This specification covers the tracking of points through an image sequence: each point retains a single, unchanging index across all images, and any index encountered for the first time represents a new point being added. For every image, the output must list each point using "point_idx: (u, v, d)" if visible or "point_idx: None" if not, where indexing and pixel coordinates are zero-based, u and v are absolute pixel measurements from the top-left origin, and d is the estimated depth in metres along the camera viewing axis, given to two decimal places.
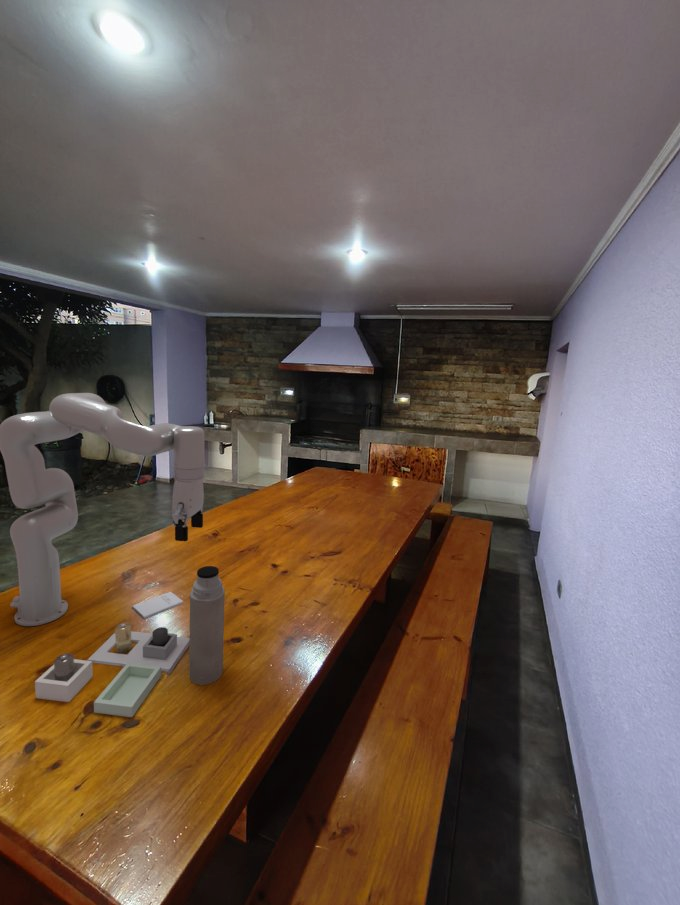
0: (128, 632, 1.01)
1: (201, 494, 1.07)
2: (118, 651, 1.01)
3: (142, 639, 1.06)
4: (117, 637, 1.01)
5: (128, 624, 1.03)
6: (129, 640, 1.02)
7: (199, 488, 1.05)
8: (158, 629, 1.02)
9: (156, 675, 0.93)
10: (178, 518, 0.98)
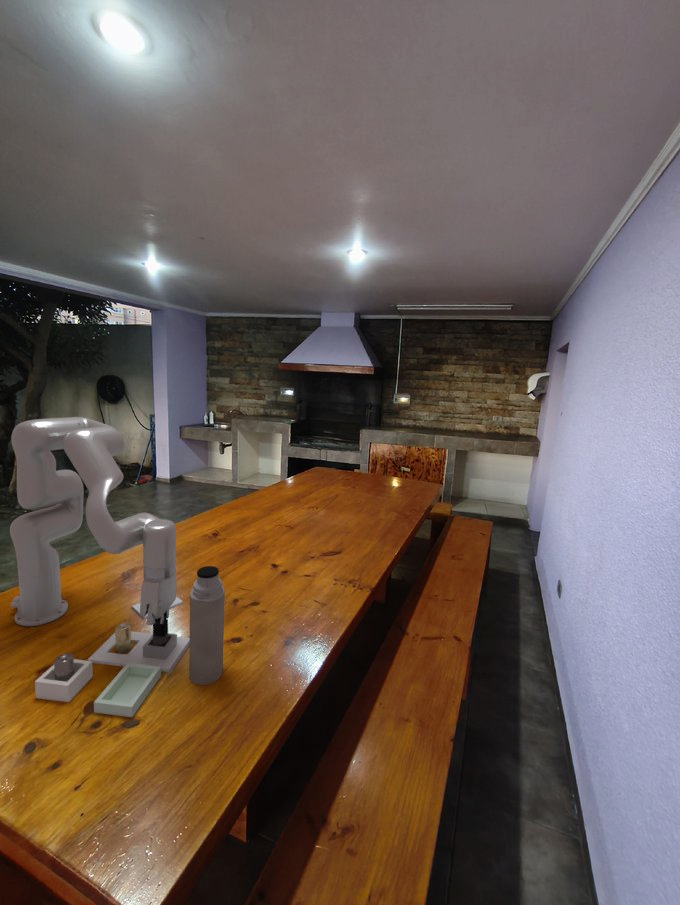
0: (128, 632, 1.01)
1: (172, 589, 1.01)
2: (118, 651, 1.01)
3: (142, 639, 1.06)
4: (117, 637, 1.01)
5: (128, 624, 1.03)
6: (129, 640, 1.02)
7: (170, 584, 0.99)
8: None
9: (156, 675, 0.93)
10: (154, 621, 0.97)
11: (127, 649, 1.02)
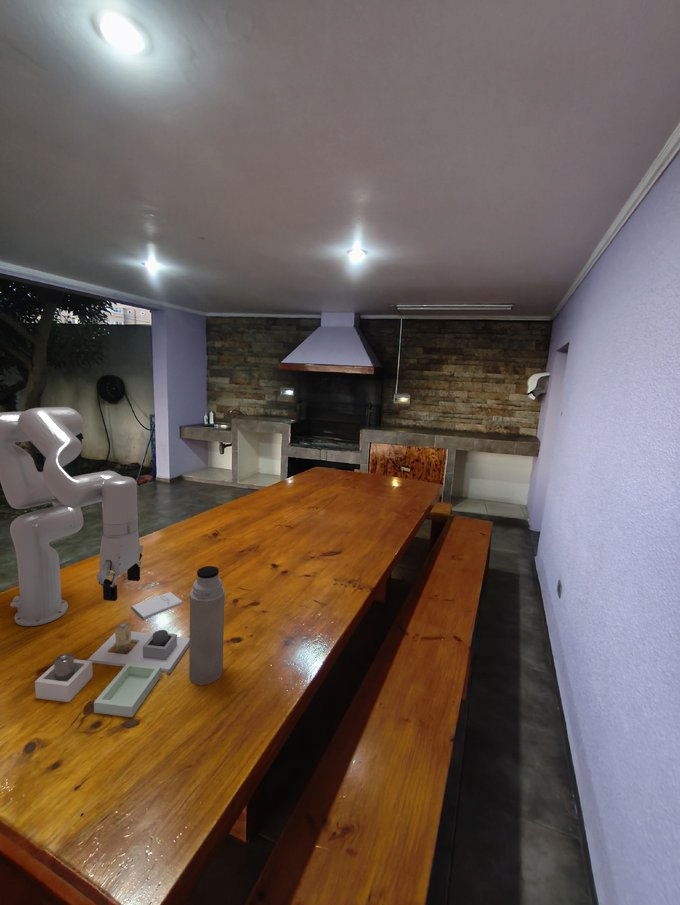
0: (128, 632, 1.01)
1: (135, 548, 1.00)
2: (118, 651, 1.01)
3: (142, 639, 1.06)
4: (117, 637, 1.01)
5: (128, 624, 1.03)
6: (129, 640, 1.02)
7: (132, 542, 0.98)
8: (158, 632, 1.02)
9: (156, 675, 0.93)
10: (103, 578, 0.91)
11: (127, 649, 1.02)
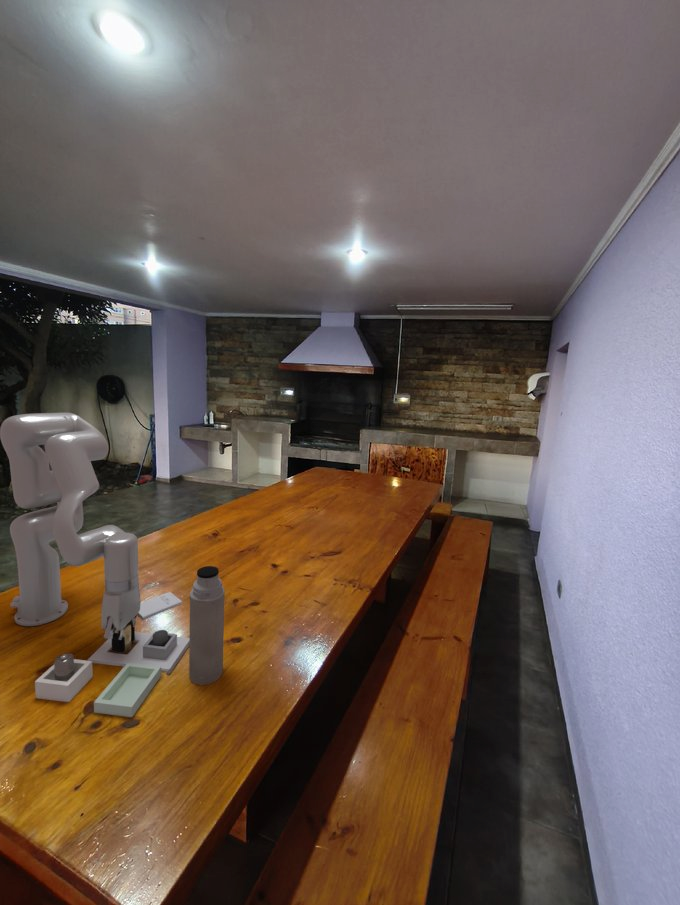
0: (128, 632, 1.01)
1: (135, 601, 1.02)
2: None
3: (142, 639, 1.06)
4: None
5: (128, 624, 1.03)
6: (129, 640, 1.02)
7: (133, 596, 1.01)
8: (158, 632, 1.02)
9: (156, 675, 0.93)
10: (111, 636, 0.96)
11: (127, 649, 1.02)
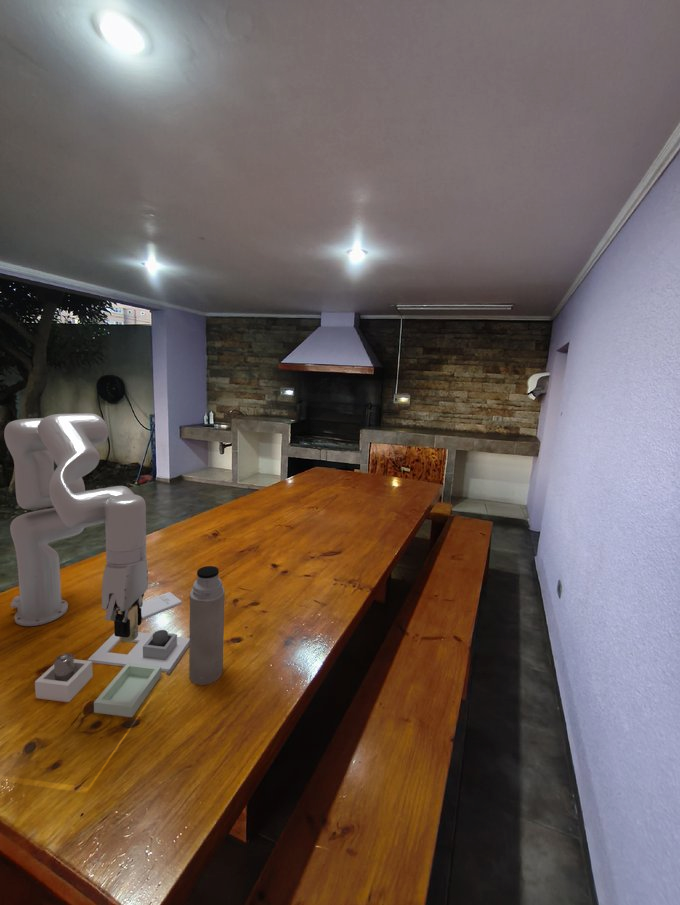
0: (134, 614, 0.85)
1: (142, 577, 0.86)
2: None
3: (142, 639, 1.06)
4: None
5: (134, 604, 0.87)
6: (135, 623, 0.86)
7: (139, 571, 0.84)
8: (158, 632, 1.02)
9: (156, 675, 0.93)
10: (114, 617, 0.80)
11: (133, 634, 0.86)
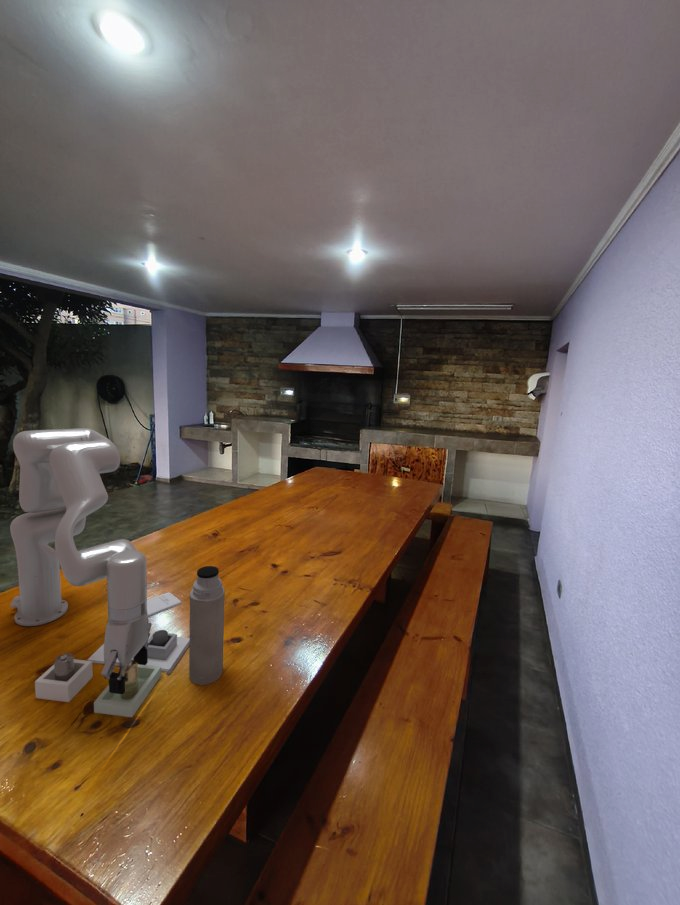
0: (134, 672, 0.87)
1: (143, 629, 0.88)
2: (123, 694, 0.87)
3: None
4: None
5: (134, 662, 0.89)
6: (136, 681, 0.88)
7: (140, 624, 0.87)
8: (158, 632, 1.02)
9: (156, 675, 0.93)
10: (110, 674, 0.80)
11: (134, 691, 0.88)
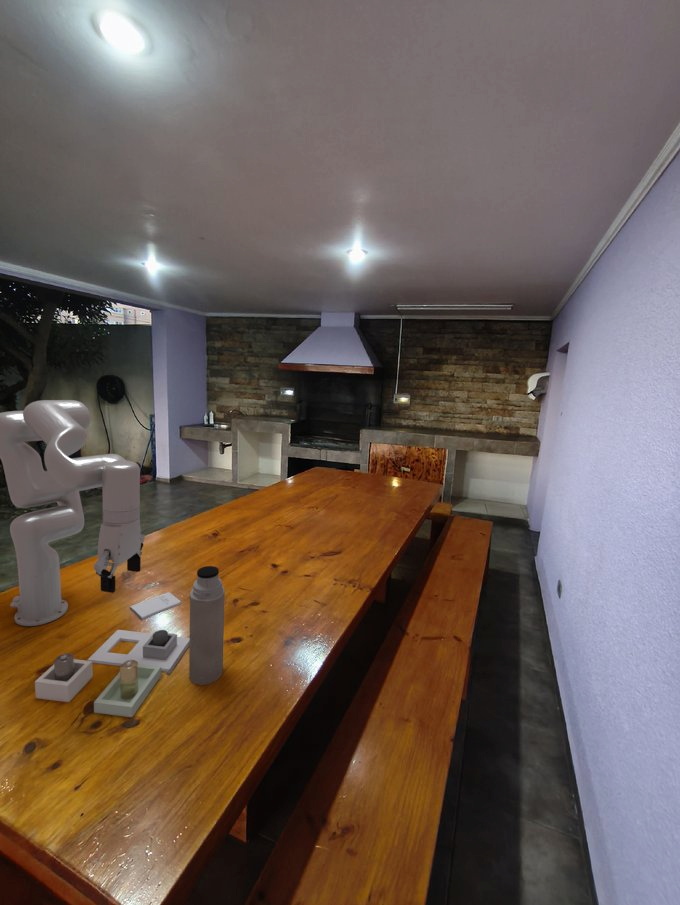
0: (134, 672, 0.87)
1: (135, 537, 0.94)
2: (123, 694, 0.87)
3: (142, 639, 1.06)
4: (122, 678, 0.87)
5: (135, 662, 0.89)
6: (136, 681, 0.88)
7: (133, 531, 0.92)
8: (158, 632, 1.02)
9: (156, 675, 0.93)
10: (101, 569, 0.85)
11: (134, 691, 0.88)
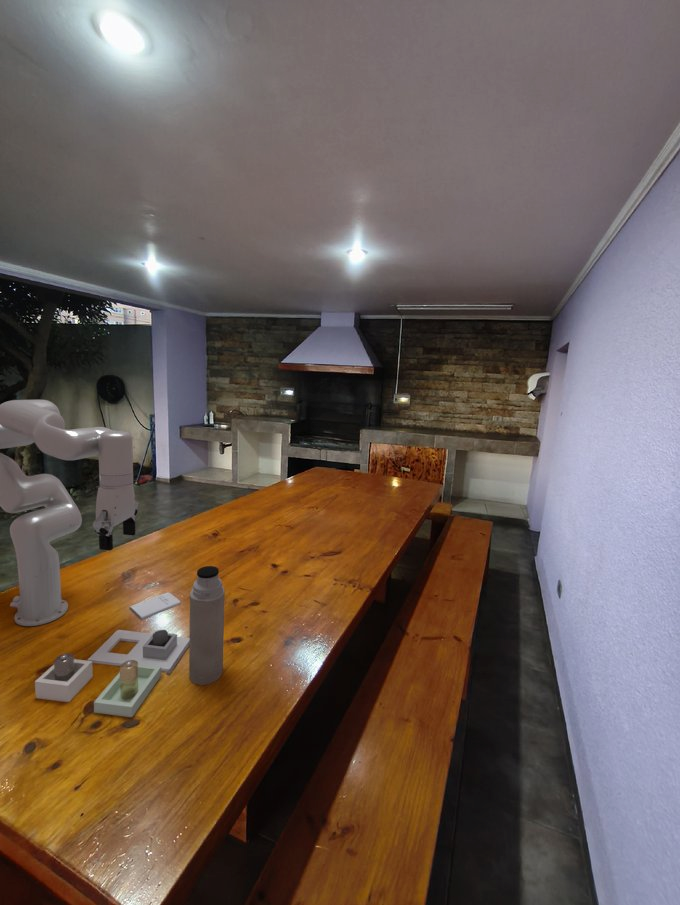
0: (134, 672, 0.87)
1: (130, 501, 1.03)
2: (123, 694, 0.87)
3: (142, 639, 1.06)
4: (122, 678, 0.87)
5: (135, 662, 0.89)
6: (136, 681, 0.88)
7: (127, 495, 1.01)
8: (158, 632, 1.02)
9: (156, 675, 0.93)
10: (99, 527, 0.94)
11: (134, 691, 0.88)
